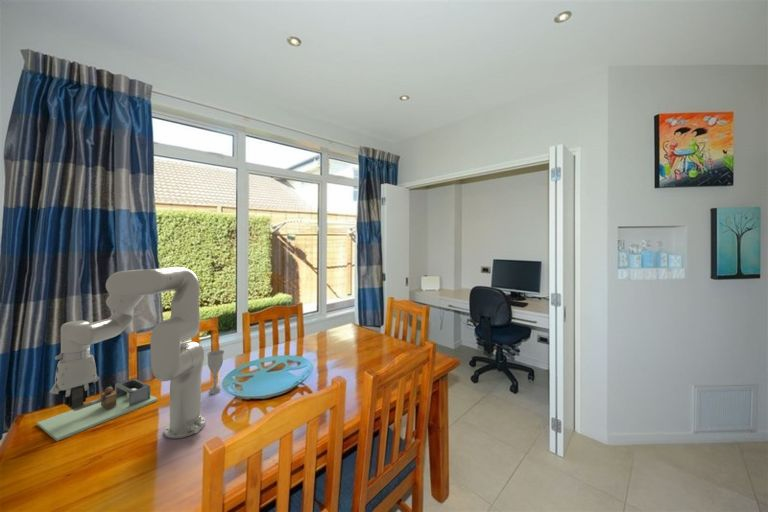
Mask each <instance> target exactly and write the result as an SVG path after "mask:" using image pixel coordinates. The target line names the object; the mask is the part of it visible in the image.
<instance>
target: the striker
mask: <svg viewBox="0 0 768 512" xmlns="http://www.w3.org/2000/svg"><path fill="white" fill-rule="evenodd" d="M70 394H71V396H72V406H71V407H68V408H69V409H70V410H73V411H77V410H80V409H83V408H86V407H88V406H91V405H94V404H97V403H100V402H101V406H102V407H104V408H106V409H109V408H112V407H114V406H116V393H115V391H114V388H113V387H112V386H107V387H105V388H104V391H103V392H101V393H100V397H99V398H97V399H93V400H91V401H88V402H87V401H86V402H83V387H82V386H77V387H74V388H71V392H70Z"/></svg>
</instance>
